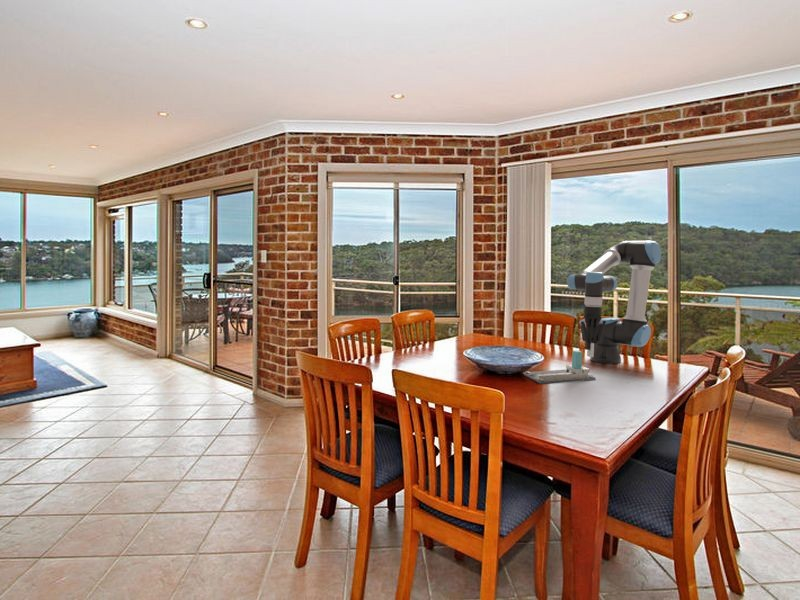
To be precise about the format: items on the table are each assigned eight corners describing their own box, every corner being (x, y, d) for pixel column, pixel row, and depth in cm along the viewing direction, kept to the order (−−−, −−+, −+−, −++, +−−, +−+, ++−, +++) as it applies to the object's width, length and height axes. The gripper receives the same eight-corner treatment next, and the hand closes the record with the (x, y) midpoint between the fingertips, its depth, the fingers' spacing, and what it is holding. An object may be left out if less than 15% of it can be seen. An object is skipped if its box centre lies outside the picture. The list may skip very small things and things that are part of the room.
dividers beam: (577, 372, 226) (577, 364, 226) (589, 377, 217) (589, 369, 216) (529, 375, 220) (530, 366, 220) (540, 380, 211) (540, 372, 211)
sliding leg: (569, 371, 225) (570, 347, 224) (581, 377, 216) (582, 352, 215) (564, 372, 224) (565, 348, 223) (575, 377, 215) (577, 352, 214)
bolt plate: (575, 371, 232) (575, 367, 232) (595, 379, 217) (595, 376, 216) (523, 374, 226) (523, 371, 225) (540, 383, 210) (540, 380, 210)
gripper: (600, 304, 221) (597, 354, 223) (575, 305, 218) (572, 355, 220) (610, 306, 213) (607, 357, 216) (585, 307, 210) (582, 358, 213)
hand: (590, 356), depth 218 cm, fingers closed
